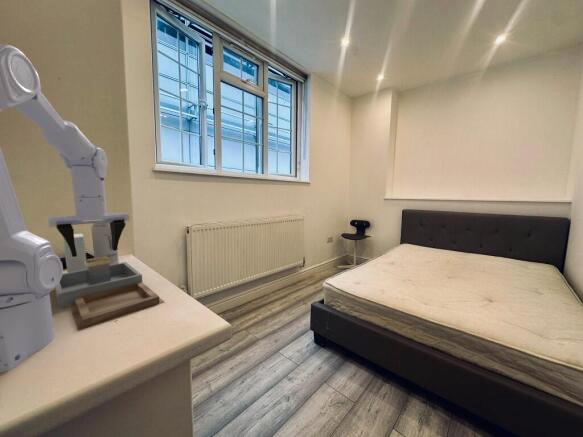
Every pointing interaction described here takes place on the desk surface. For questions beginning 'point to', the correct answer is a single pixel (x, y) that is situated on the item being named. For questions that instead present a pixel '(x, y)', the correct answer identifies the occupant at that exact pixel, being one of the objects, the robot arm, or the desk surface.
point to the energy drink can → (103, 242)
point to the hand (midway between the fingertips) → (95, 252)
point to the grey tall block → (97, 270)
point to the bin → (77, 285)
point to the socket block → (112, 304)
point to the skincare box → (77, 261)
